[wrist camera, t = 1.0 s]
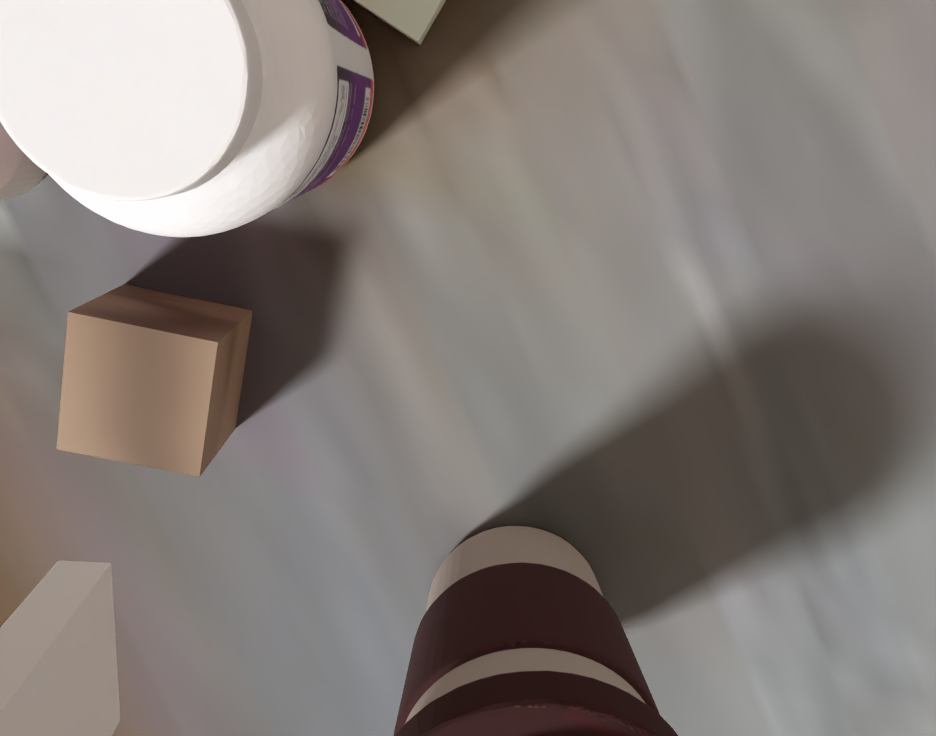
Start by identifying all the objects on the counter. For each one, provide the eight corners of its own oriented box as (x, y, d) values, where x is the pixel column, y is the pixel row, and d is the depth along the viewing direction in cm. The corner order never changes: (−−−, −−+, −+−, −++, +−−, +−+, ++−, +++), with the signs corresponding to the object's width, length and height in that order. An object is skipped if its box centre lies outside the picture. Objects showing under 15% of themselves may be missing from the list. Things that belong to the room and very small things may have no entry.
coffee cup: (378, 671, 38) (325, 1006, 24) (425, 469, 36) (396, 711, 21) (594, 713, 39) (668, 1064, 25) (656, 518, 36) (781, 785, 22)
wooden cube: (113, 403, 35) (56, 449, 30) (125, 283, 33) (68, 311, 29) (236, 427, 35) (199, 476, 30) (253, 310, 34) (217, 342, 29)
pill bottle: (128, -12, 30) (-155, -117, 17) (350, -58, 30) (251, -205, 16) (190, 216, 33) (-13, 291, 19) (398, 176, 32) (347, 223, 18)
